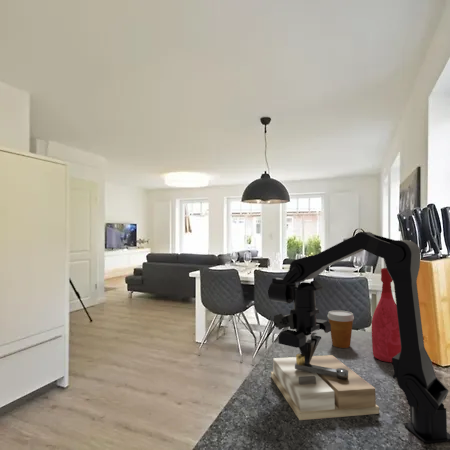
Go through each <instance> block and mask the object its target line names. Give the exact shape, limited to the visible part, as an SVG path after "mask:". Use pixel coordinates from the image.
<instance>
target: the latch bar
mask: <svg viewBox="0 0 450 450" xmlns="http://www.w3.org/2000/svg"><path fill="white" fill-rule="evenodd" d="M295 357H296V364H295V369H298V370H303V371H308V372H313V373H318V374H324V375H329V376H334V377H337V378H339V379H343V380H345V379H348V370H346V369H343V368H338V369H332V368H327V367H321V366H316V365H311V364H305V355H303V354H301V353H297V354H296V355H295Z"/></svg>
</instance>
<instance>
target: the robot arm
mask: <svg viewBox="0 0 450 450" xmlns="http://www.w3.org/2000/svg"><path fill="white" fill-rule="evenodd" d="M363 251H366V252H368V253H370V254H372V255H374V256H377V257H378V258H382V259H383V260H384V265H385V268H387V271H388V272H389V274H390V276H391V278H392V280H393V281H392V283H393V288H394V297H395V303H396V307H397V316H398V325H399V333H400V342H401V352H400V353H398V354H397V355H396V356H394V357H393V358H392V363H391V364H392V366H393V376H392V377H393V379H396V383H397V386H398V388H399V389H400V390H402V392H403V393H404V395H405V398H406V401H407V403H408V406H409V413H410V414H409V416H410V421H408V422H407V421H406V422H404V427H406V428H407V429H408V430H409V431H410V432H412V433H413V434H414V435H415V436H416V437H417V438H419V439H420V440H421V441H423V443H426V444H431V443H442V442H450V433H449V432H448V425H447V424H448V420H447V416H448V415H447V408H445V404H444V401H445V400H446V398H447V397H448V394H449V393H450V392H449V389H448V388H447V387H446V386H445V385H444V384H443V383H442V382H441V380H440V379H438V377H437V375H436V373H435V369H434V365H433V362H432V360H431V358H430V355H429V354H428V352H427V350H426V347H425V344H424V343H425V341H424V333H423V325H422V324H423V323H422V318H421V308H420V301H419V293H418V285H417V284H418V283H417V281H418V277H419V271H420V269H421V268H420V267H421V256H422V255H421V254H422V253H421V249H420V247H419V245H418V244H417V243H415V241H411V240H409V239H408V240H407V239H401V240H400V239H398V240H395V239H391V238H390V237H389V238H388V237H385V236H382V235H377V234H374V233H373V232H370V231H359V232H356V233H355V234H354V235H353V236H351V237H348V238H346V239H345V240H343V241H341V242H339V243H336V244H334V245H332V246H331V247H329V248H327V249H325V250H323V251H321V252H319V253H316V254H313V255H309V256H305V257H301V258H297V259H294V260H292V261H291V262H290V264H289V269H288V271H287V272H286V274H285V276H284V277H283V278H280V277H273V278H272V279H271V283H270V284H269V286H268V290H267V295H268V299H269V300H270V301H271V302H277V303H283V304H284V303H285V304H292V303H293V308H291V309H290V310H289V314H286V315H283V314H282V313H279V314H276V315H274V316H273V325H274V326H275V327H276V328H277V329H278V330H279V331H280V330H282V329H286V328H289V329H286V330H283V331H281V332H279V333H278V335H277V344H279V345H284V346H288V347H293V348H295V349H296V348H298V350H299V351H300V354H303V355H305V364H309V363H310V361H311V359H312V356H314V353H315V352H316V349H317V347H318V345H319V343H320V341H321V340H322V336H319V335H317V334H318V333H316V332H317V331H319V330H321V331H322V330H323V331H324V333H325V334H328V333H331V324H330V323H329V320H326V319H319V318H317V314H319V313H320V309H319V308H317V307H316V291H320V290H323V288H324V287H323V286H322V285H321V284H320V283H319V282H318V280H316V279H315V278H317V277H318V276H319V275H321V274H322V273H323V272H324V271H325V270H326V269H327V268H329V267H330V266H333V265H335V264H337V263H338V262H339V263H340V262H341V261H344V260H345V259H348V258H349V257H352V256H354V255H357V254H359V253H361V252H363ZM312 279H315V280H312ZM308 280H311V281H310V282H305V281H308Z"/></svg>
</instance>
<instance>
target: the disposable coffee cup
mask: <svg viewBox="0 0 450 450" xmlns="http://www.w3.org/2000/svg"><path fill="white" fill-rule="evenodd" d="M326 317H327V319H328V322H329V323H330V324H331V331H330V337H331V344H332V346H333V347H335V348H339V349H347V348H351V341H352V340H351V339H352V333H353V323H354V319H355V317H354V313H352V312H350V311H345V310H330V311H328V314H327V316H326Z"/></svg>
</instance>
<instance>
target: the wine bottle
mask: <svg viewBox="0 0 450 450" xmlns="http://www.w3.org/2000/svg"><path fill="white" fill-rule="evenodd" d="M380 275H381V276H380V281H381V283H382V285H381V294H380V297H379V301H378V303H377V305H376V306H375V309H374V312H373V315H372V319H371V346H372V355H373V357H374V358H375V359H377V360H379V361H382V362H384V363H385V362H386V363H391V364H392V358H393V357H394V356H396V355H397V354H398V353H400V352H401V342H400V333H399V325H398V316H397V307H396V300H395V299H394V296H393V292H392V283H393V280H392V278H391V276H390V274H389V272H388V271H387V268H386V267H382V268H381V269H380Z"/></svg>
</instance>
